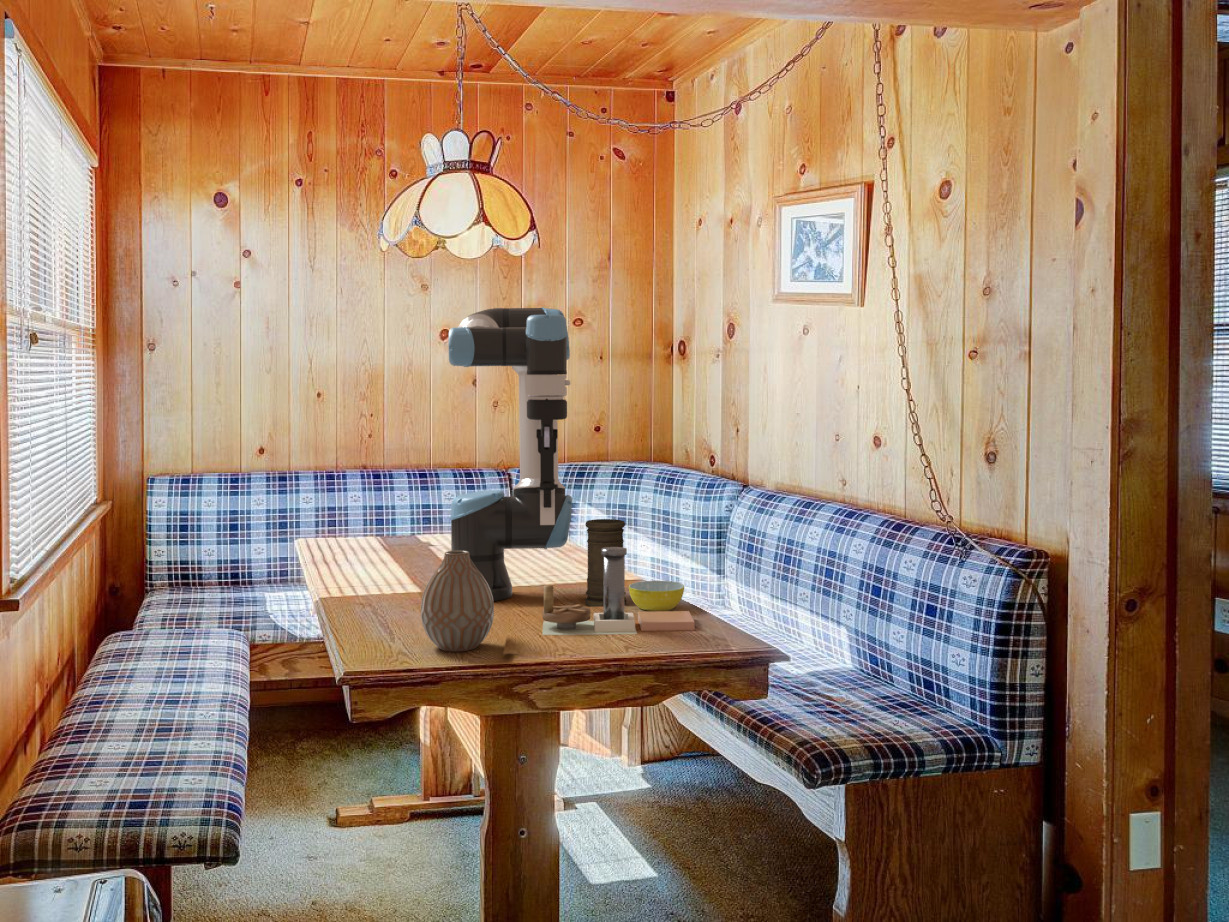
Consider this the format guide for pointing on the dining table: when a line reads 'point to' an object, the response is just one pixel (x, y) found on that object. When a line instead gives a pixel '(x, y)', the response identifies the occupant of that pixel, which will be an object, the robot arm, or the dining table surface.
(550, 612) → the handwheel
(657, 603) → the bowl
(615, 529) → the container
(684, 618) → the rest tile
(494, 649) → the dining table surface
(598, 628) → the plate
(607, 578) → the metal flanged cylinder
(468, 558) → the vase
